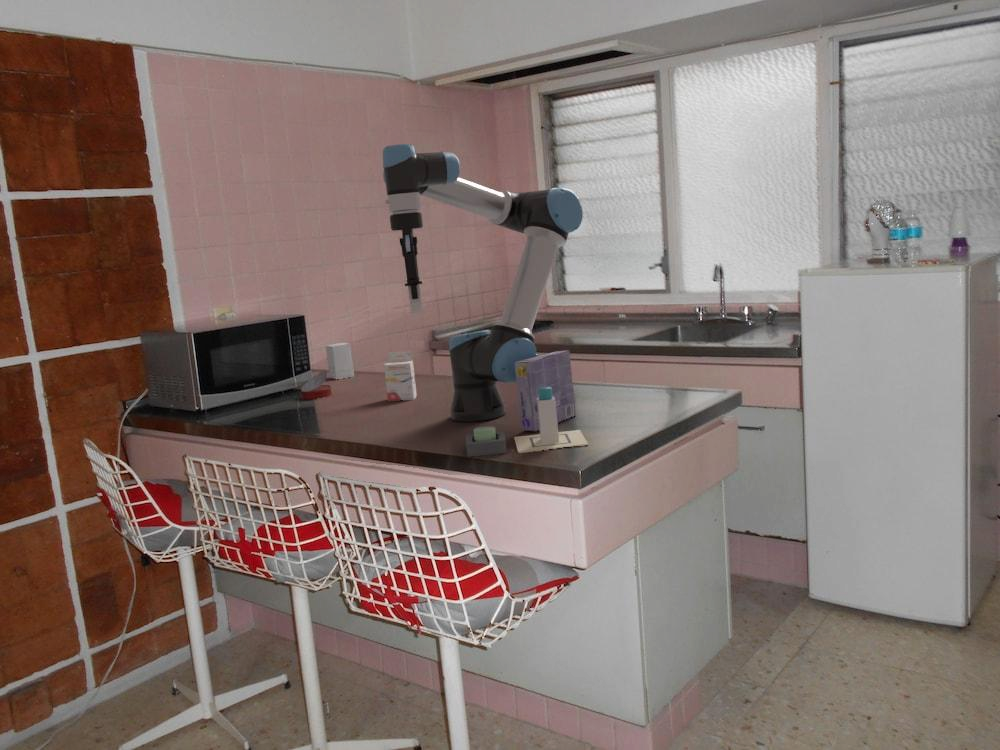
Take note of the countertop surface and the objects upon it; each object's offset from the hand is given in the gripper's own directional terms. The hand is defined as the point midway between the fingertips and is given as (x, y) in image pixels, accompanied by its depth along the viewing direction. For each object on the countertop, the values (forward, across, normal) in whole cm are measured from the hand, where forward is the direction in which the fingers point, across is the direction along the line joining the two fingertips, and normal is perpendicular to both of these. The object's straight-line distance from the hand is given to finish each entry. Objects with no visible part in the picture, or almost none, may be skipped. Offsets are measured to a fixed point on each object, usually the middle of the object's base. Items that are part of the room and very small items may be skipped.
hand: (416, 312), depth 214 cm
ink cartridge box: (+33, -62, -11) cm, 71 cm away
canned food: (+33, -83, -41) cm, 98 cm away
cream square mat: (+32, +11, +28) cm, 44 cm away
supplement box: (+33, -118, -37) cm, 128 cm away
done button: (+32, +12, +13) cm, 36 cm away
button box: (+32, +12, +13) cm, 37 cm away
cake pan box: (+33, -8, +30) cm, 45 cm away
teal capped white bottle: (+32, +11, +28) cm, 44 cm away
